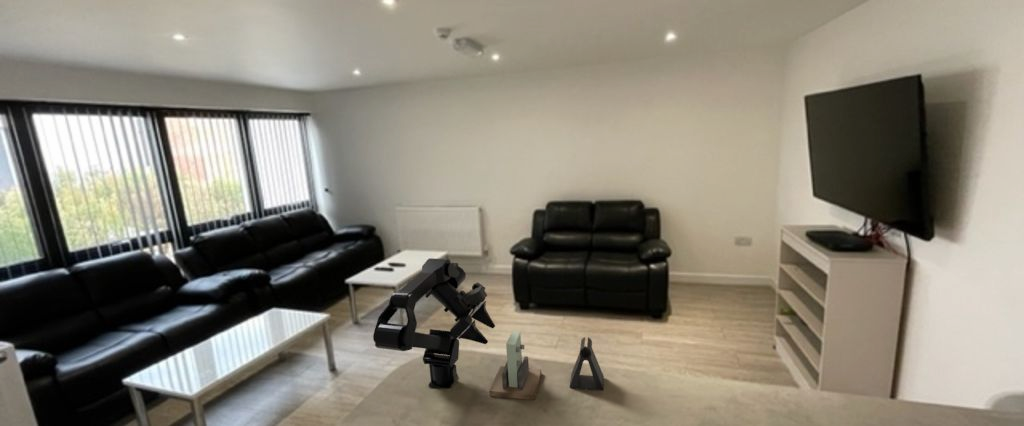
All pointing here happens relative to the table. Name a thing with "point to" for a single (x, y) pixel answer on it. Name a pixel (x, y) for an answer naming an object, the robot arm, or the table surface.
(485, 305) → the robot arm
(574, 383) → the grey triangular stand
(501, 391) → the hinge base
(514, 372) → the door panel
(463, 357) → the table surface
